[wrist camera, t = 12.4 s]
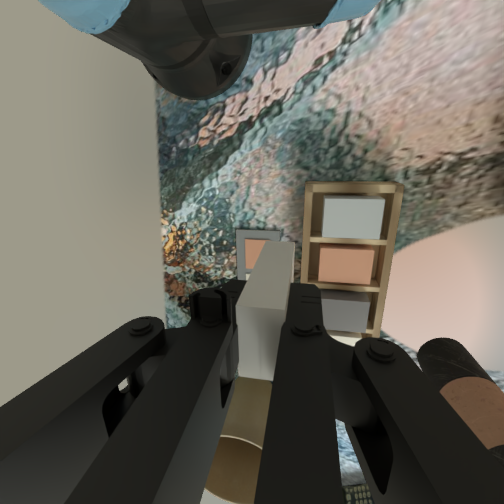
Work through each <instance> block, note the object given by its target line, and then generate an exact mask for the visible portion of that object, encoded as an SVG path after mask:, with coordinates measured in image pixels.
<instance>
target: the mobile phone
mask: <svg viewBox="0 0 504 504" xmlns="http://www.w3.org/2000/svg"><path fill="white" fill-rule="evenodd" d="M342 493H343V503H344V504H375V503H374V500H373V498H372V495H371V492H370V490H369V487H368V485H367V483H366V484H359V485H351V486H342Z"/></svg>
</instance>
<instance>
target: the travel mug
mask: <svg viewBox="0 0 504 504" xmlns="http://www.w3.org/2000/svg"><path fill="white" fill-rule="evenodd" d="M417 358H418V362H419V364H420V367H421V369H422V371H423V373H424V374H425V375H426V376H427V378H428V379H429V380H430V381H431V382H432V384H433V385H434V386H435V387H436V388H437V390H438V391H439V392H440V393H441V394H442V396H443V397H444V398H445V399H446V400H447V401H448V403H449V404H450V405H451V406H452V407H453V409H454V410H455V411H456V412H457V413H458V415H459V416H460V417H461V418H462V419H463V421H464V422H465V423H466V424H467V425H468V426H469V428H470V429H471V430H472V431H473V432H474V434H475V435H476V436H477V437H478V438H479V440H480V441H481V442H482V443H483V444H484V446H485V447H486V448H487V449H488V450H489V451H490V453H491V454H492V455H493V456H494V457H495V459H496V460H497V461H498V462H499V463H500V465H501V466H502V467H503V468H504V393H503V392H502V391H501V389H500V388H499V387H498V386H497V385H496V383H495V382H494V381H493V380H492V379H491V378H490V376H489V375H488V374H487V373H486V372H485V371H484V369H483V368H482V367H481V366H480V365H479V364H478V363H477V361H476V360H475V359H474V358H473V357H472V355H471V354H470V353H469V352H468V351H467V350H466V349H465V348H464V346H463V345H462V344H460V343H459V342H458V341H456V340H453V339H450V338H436V339H432V340H430V341H428V342H426V343H425V344H423V345H422V346H421V348H420V349H419V351H418V356H417Z"/></svg>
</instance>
